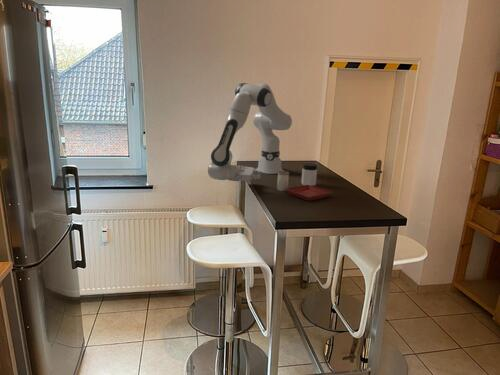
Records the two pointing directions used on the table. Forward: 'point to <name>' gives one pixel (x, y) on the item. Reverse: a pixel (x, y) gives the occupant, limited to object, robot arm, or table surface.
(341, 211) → the table surface
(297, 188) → the plant saucer
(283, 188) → the canister
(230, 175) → the robot arm
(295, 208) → the table surface
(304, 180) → the jar
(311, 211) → the table surface
